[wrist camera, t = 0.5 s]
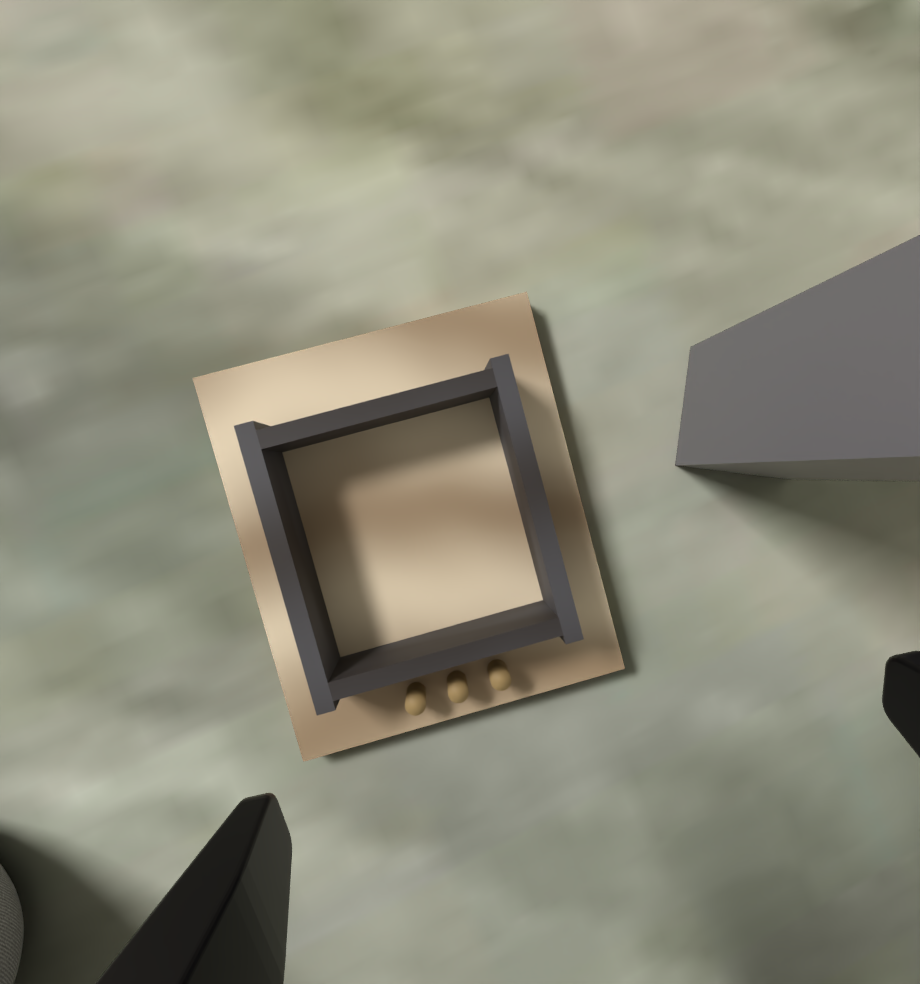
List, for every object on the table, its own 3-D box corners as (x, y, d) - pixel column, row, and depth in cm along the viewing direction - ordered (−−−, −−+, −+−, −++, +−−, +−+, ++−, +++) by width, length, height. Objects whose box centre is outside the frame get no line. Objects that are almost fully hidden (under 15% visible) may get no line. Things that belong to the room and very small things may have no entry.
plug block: (788, 479, 22) (1219, 485, 10) (675, 465, 22) (977, 453, 10) (804, 362, 22) (1259, 226, 10) (690, 346, 22) (1015, 188, 10)
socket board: (615, 659, 22) (651, 695, 18) (309, 748, 21) (285, 802, 18) (522, 300, 21) (540, 266, 18) (204, 382, 21) (158, 364, 17)
